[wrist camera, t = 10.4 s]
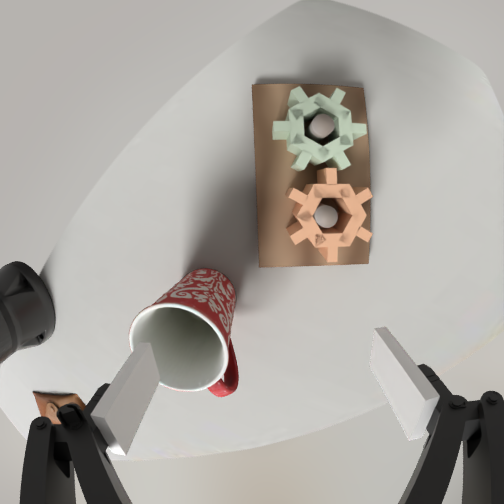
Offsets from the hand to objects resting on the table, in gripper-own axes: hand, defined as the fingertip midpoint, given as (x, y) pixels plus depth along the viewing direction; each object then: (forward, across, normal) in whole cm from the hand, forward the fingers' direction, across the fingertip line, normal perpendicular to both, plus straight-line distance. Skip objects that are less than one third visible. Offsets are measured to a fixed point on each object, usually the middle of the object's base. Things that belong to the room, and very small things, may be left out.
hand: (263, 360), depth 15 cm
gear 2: (+18, +7, +6) cm, 20 cm away
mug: (+20, -6, -5) cm, 21 cm away
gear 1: (+18, +7, +15) cm, 24 cm away
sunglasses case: (+21, -44, -30) cm, 57 cm away
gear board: (+19, +7, +10) cm, 23 cm away
